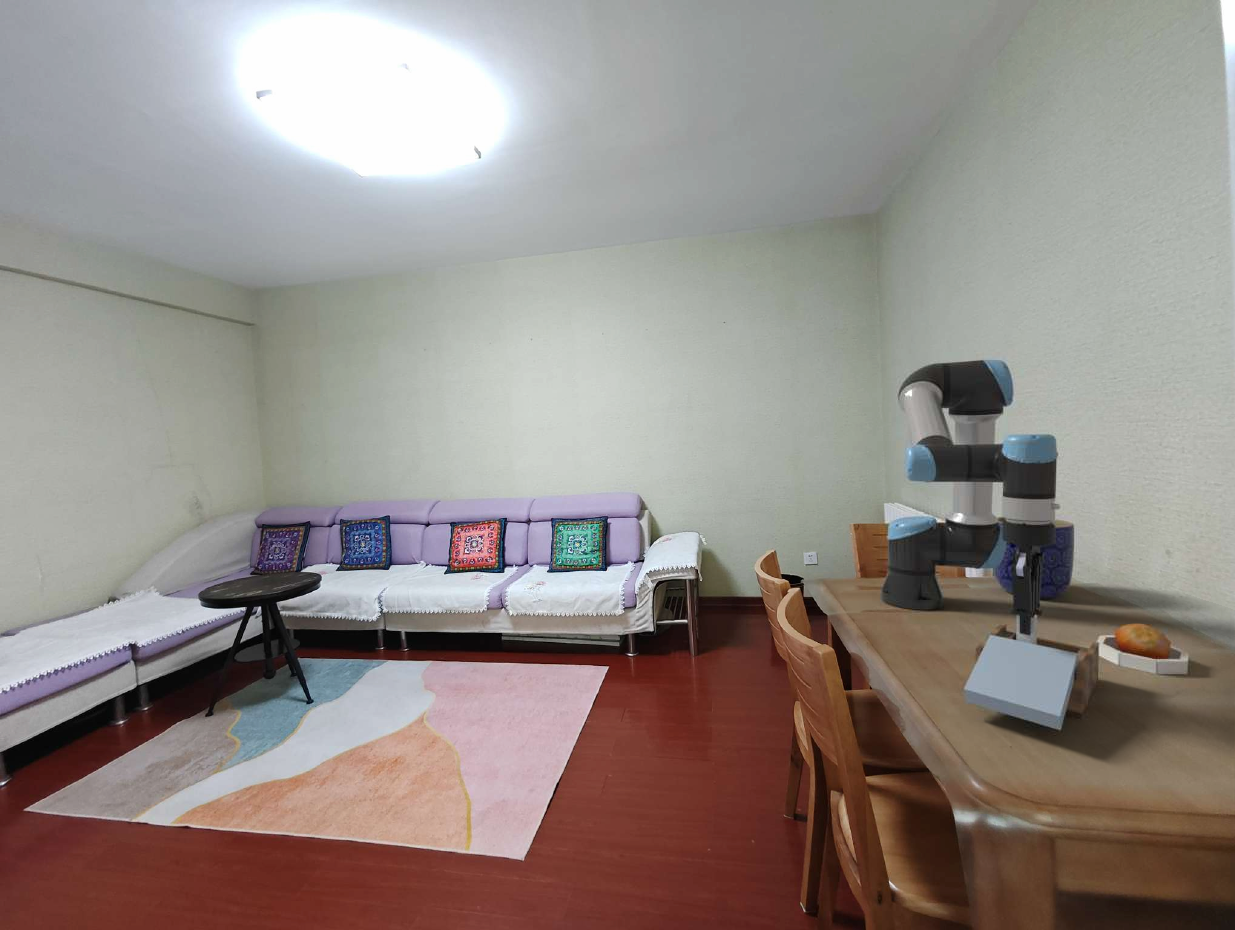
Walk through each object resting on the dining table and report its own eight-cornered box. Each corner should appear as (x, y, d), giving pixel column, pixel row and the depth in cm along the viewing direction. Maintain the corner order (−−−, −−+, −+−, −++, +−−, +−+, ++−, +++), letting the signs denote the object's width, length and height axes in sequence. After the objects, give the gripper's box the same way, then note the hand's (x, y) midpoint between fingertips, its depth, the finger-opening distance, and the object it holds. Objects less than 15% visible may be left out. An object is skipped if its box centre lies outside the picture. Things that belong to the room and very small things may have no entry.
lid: (990, 646, 100) (990, 634, 99) (1077, 666, 90) (1077, 653, 90) (964, 701, 89) (963, 688, 88) (1060, 730, 80) (1060, 716, 79)
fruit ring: (1093, 659, 108) (1093, 647, 108) (1102, 641, 117) (1102, 630, 117) (1186, 680, 99) (1186, 667, 98) (1188, 659, 107) (1189, 647, 107)
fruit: (1148, 643, 112) (1161, 618, 108) (1168, 676, 106) (1184, 651, 101) (1100, 639, 115) (1112, 615, 110) (1117, 672, 108) (1130, 647, 104)
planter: (1091, 602, 142) (1093, 526, 141) (1022, 604, 143) (1023, 528, 141) (1037, 582, 161) (1039, 515, 159) (976, 584, 161) (977, 517, 160)
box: (1001, 658, 110) (1001, 622, 110) (1097, 681, 99) (1098, 642, 99) (975, 687, 98) (975, 647, 98) (1081, 718, 87) (1082, 673, 87)
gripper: (1047, 528, 88) (1045, 667, 89) (1062, 518, 96) (1059, 645, 98) (993, 523, 93) (991, 654, 95) (1011, 514, 102) (1010, 634, 103)
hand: (1026, 650), depth 96 cm, fingers closed
